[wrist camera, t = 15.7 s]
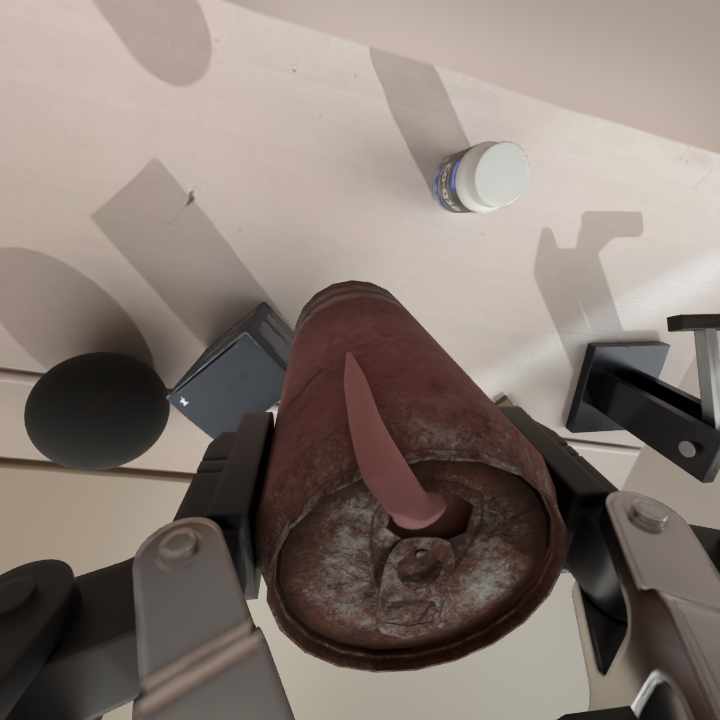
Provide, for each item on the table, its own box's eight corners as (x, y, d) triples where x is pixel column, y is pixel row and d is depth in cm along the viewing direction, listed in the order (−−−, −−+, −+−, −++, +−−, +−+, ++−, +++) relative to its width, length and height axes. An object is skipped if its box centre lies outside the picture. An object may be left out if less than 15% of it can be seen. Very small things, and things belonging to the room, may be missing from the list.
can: (375, 251, 17) (533, 355, 5) (424, 355, 20) (617, 610, 7) (270, 309, 18) (148, 547, 5) (330, 403, 20) (351, 723, 8)
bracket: (588, 343, 39) (718, 404, 27) (661, 341, 40) (819, 399, 28) (565, 427, 43) (668, 515, 31) (631, 423, 44) (757, 507, 32)
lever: (660, 318, 32) (687, 313, 30) (718, 317, 33) (748, 312, 31) (674, 462, 32) (702, 468, 29) (732, 458, 32) (765, 464, 30)
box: (246, 387, 37) (219, 450, 27) (204, 348, 35) (159, 401, 25) (305, 341, 35) (300, 389, 25) (265, 297, 33) (244, 332, 23)
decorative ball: (171, 438, 38) (124, 510, 29) (67, 409, 35) (-20, 478, 26) (196, 358, 35) (154, 410, 26) (85, 321, 32) (-7, 362, 23)
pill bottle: (424, 167, 31) (461, 150, 23) (475, 145, 30) (529, 121, 23) (439, 221, 33) (478, 223, 25) (487, 201, 32) (541, 196, 25)
